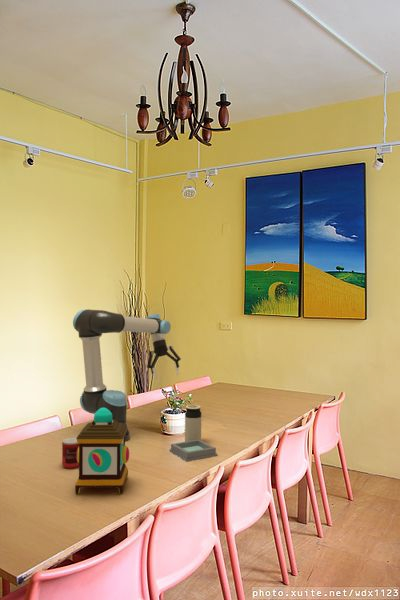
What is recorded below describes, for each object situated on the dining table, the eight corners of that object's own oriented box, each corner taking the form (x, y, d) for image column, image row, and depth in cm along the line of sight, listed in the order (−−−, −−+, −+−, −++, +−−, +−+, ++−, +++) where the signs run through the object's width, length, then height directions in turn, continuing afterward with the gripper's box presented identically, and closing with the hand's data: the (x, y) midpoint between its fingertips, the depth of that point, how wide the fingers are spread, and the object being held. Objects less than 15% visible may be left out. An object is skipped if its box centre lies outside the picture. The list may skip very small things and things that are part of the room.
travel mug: (187, 445, 243) (187, 408, 242) (183, 441, 250) (183, 405, 250) (203, 444, 245) (203, 407, 244) (198, 440, 253) (199, 404, 252)
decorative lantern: (131, 476, 203) (132, 401, 202) (126, 496, 183) (126, 414, 183) (81, 476, 202) (81, 401, 202) (70, 496, 182) (70, 413, 182)
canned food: (73, 461, 219) (73, 436, 219) (84, 465, 214) (85, 440, 214) (58, 466, 213) (58, 440, 213) (69, 470, 208) (69, 444, 208)
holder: (186, 461, 221) (186, 453, 220) (169, 451, 234) (169, 443, 234) (217, 455, 229) (217, 448, 229) (199, 446, 242) (199, 439, 242)
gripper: (180, 335, 295) (188, 371, 292) (141, 345, 300) (149, 380, 297) (176, 335, 288) (185, 371, 285) (136, 345, 293) (144, 381, 290)
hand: (166, 376), depth 291 cm, fingers open, 13 cm apart
